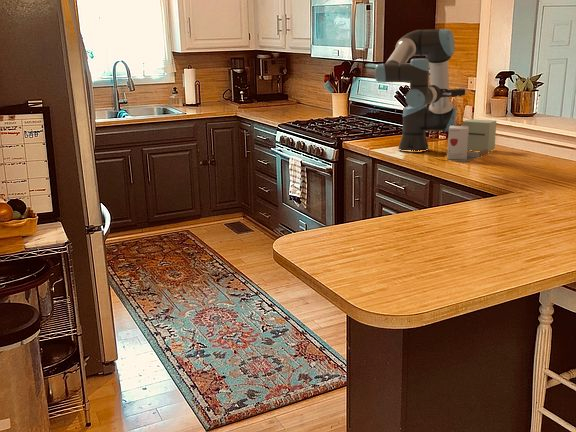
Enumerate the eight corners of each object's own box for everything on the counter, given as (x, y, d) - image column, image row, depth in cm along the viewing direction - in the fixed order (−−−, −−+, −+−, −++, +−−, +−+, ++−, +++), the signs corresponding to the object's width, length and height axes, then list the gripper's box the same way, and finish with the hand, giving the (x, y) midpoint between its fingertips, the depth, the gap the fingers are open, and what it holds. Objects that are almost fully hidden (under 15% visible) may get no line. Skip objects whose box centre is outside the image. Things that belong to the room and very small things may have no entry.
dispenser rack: (478, 158, 300) (479, 127, 296) (446, 155, 310) (447, 124, 306) (496, 150, 318) (498, 120, 314) (466, 147, 328) (467, 119, 324)
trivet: (436, 159, 300) (436, 158, 300) (449, 154, 310) (449, 154, 310) (464, 162, 291) (464, 161, 291) (476, 157, 302) (476, 156, 302)
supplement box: (447, 159, 298) (448, 127, 294) (448, 155, 306) (449, 125, 302) (466, 159, 295) (468, 128, 291) (467, 156, 303) (468, 125, 299)
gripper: (403, 102, 276) (425, 96, 292) (456, 105, 261) (476, 99, 277) (403, 84, 274) (425, 80, 290) (457, 86, 259) (477, 81, 275)
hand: (450, 89), depth 283 cm, fingers open, 13 cm apart
